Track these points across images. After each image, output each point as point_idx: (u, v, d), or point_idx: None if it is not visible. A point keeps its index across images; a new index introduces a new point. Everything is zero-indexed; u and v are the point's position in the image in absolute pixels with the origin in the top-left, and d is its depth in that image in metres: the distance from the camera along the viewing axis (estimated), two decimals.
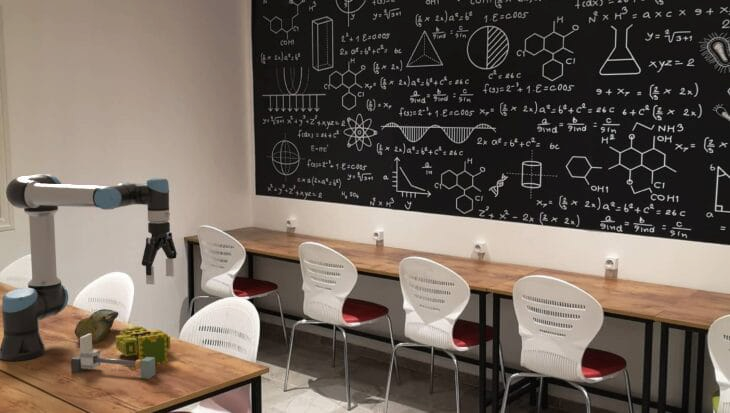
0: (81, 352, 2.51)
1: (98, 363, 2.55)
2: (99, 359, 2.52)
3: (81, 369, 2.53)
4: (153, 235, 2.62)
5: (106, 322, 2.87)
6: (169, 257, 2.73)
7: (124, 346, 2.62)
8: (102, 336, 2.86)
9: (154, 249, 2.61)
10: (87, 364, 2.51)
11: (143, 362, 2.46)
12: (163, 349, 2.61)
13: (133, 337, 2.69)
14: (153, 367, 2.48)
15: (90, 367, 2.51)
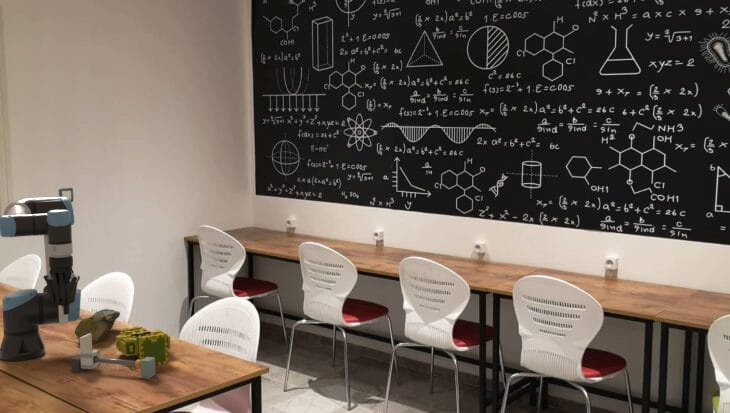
0: (81, 352, 2.51)
1: (98, 363, 2.55)
2: (99, 359, 2.52)
3: (81, 369, 2.53)
4: None
5: (106, 322, 2.87)
6: None
7: (124, 346, 2.62)
8: (102, 336, 2.85)
9: None
10: (87, 364, 2.51)
11: (143, 362, 2.46)
12: (163, 349, 2.61)
13: (133, 337, 2.69)
14: (153, 367, 2.48)
15: (90, 367, 2.51)
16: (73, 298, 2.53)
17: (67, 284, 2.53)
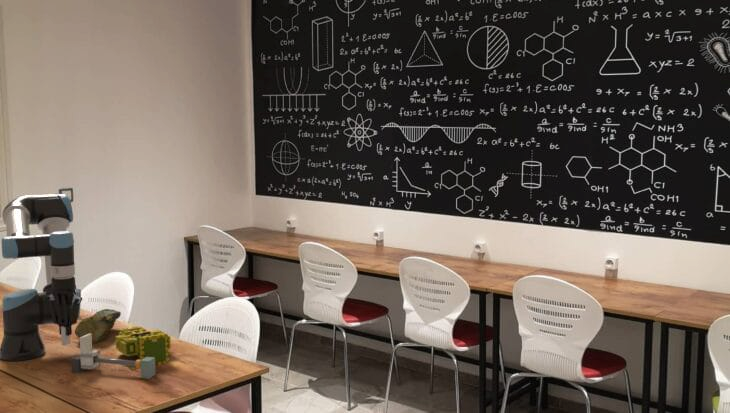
0: (81, 352, 2.51)
1: (98, 363, 2.55)
2: (99, 359, 2.52)
3: (81, 369, 2.53)
4: None
5: (106, 322, 2.87)
6: None
7: (125, 346, 2.62)
8: (102, 336, 2.85)
9: None
10: (87, 364, 2.51)
11: (143, 362, 2.46)
12: (164, 349, 2.61)
13: (133, 337, 2.69)
14: (153, 367, 2.48)
15: (90, 367, 2.51)
16: (75, 319, 2.54)
17: (69, 305, 2.53)
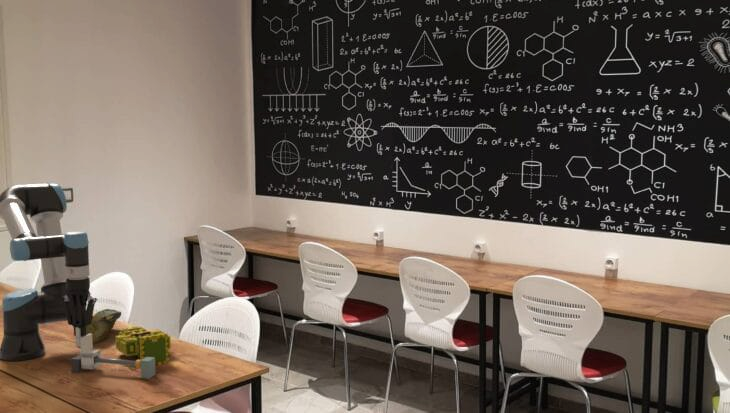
0: (82, 352, 2.51)
1: (99, 363, 2.55)
2: (99, 359, 2.52)
3: (81, 369, 2.53)
4: None
5: (106, 322, 2.87)
6: None
7: (125, 346, 2.62)
8: (102, 336, 2.85)
9: None
10: (88, 364, 2.51)
11: (143, 362, 2.46)
12: (164, 349, 2.62)
13: (133, 337, 2.69)
14: (153, 367, 2.48)
15: (91, 367, 2.51)
16: (90, 320, 2.52)
17: (84, 306, 2.52)
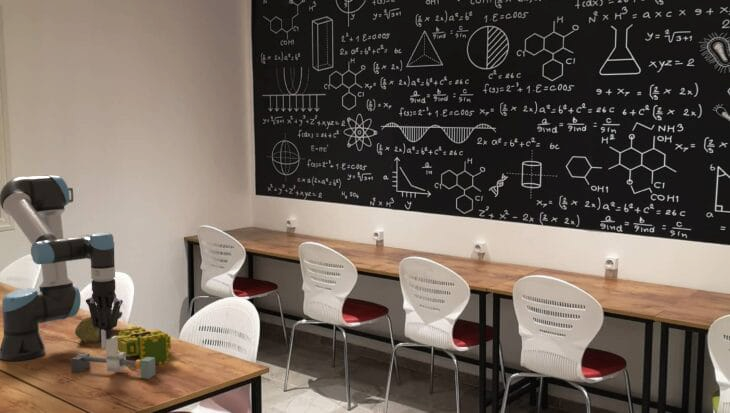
0: (107, 355, 2.48)
1: (124, 366, 2.52)
2: (99, 359, 2.52)
3: (81, 369, 2.53)
4: None
5: None
6: None
7: (125, 346, 2.62)
8: None
9: None
10: (113, 367, 2.48)
11: (143, 362, 2.46)
12: (165, 349, 2.62)
13: (133, 337, 2.68)
14: (153, 367, 2.48)
15: (116, 370, 2.48)
16: (116, 322, 2.50)
17: (110, 308, 2.49)
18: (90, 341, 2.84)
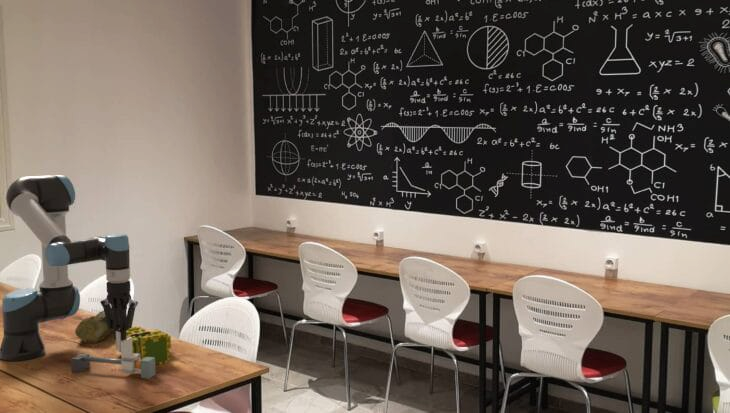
0: (122, 356, 2.47)
1: None
2: (99, 359, 2.52)
3: (81, 369, 2.53)
4: None
5: None
6: None
7: None
8: (102, 336, 2.85)
9: None
10: (128, 368, 2.47)
11: (143, 362, 2.46)
12: (165, 349, 2.62)
13: (133, 337, 2.68)
14: (153, 367, 2.48)
15: (131, 371, 2.47)
16: (131, 324, 2.48)
17: (124, 310, 2.48)
18: (90, 341, 2.84)
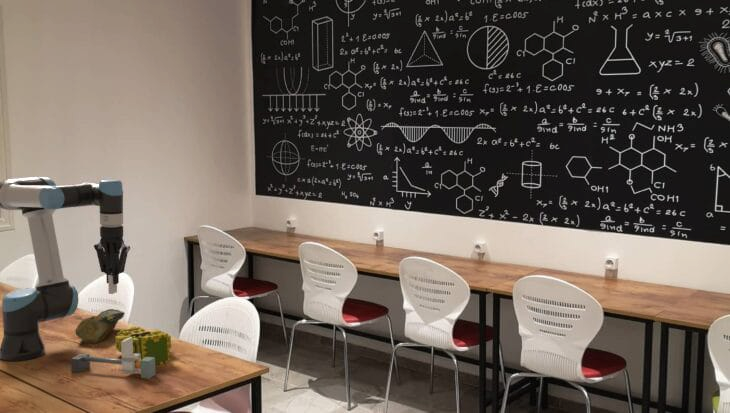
0: (122, 356, 2.47)
1: None
2: (99, 359, 2.52)
3: (81, 369, 2.53)
4: None
5: (107, 322, 2.86)
6: None
7: None
8: (102, 336, 2.85)
9: None
10: (129, 368, 2.47)
11: (143, 362, 2.46)
12: (166, 349, 2.62)
13: (133, 337, 2.68)
14: (153, 367, 2.48)
15: (132, 371, 2.47)
16: (123, 268, 2.53)
17: (117, 254, 2.53)
18: (90, 341, 2.84)
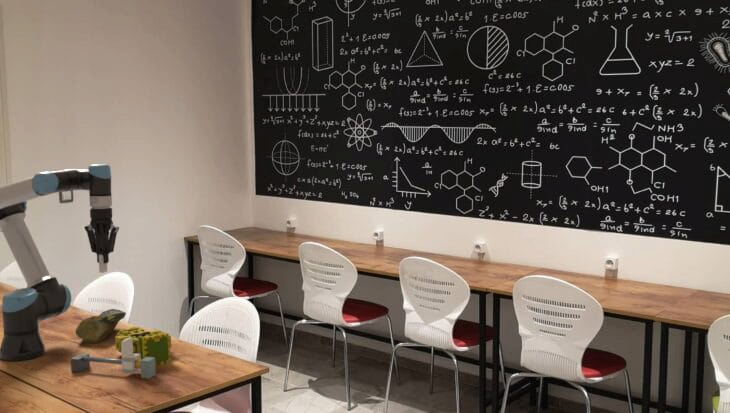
0: (122, 356, 2.47)
1: None
2: (99, 359, 2.52)
3: (81, 369, 2.53)
4: None
5: (107, 323, 2.86)
6: None
7: None
8: (102, 336, 2.85)
9: None
10: (129, 368, 2.47)
11: (143, 362, 2.46)
12: (166, 348, 2.62)
13: (134, 337, 2.68)
14: (153, 367, 2.48)
15: (132, 371, 2.47)
16: (112, 248, 2.67)
17: (107, 234, 2.67)
18: (90, 341, 2.84)
